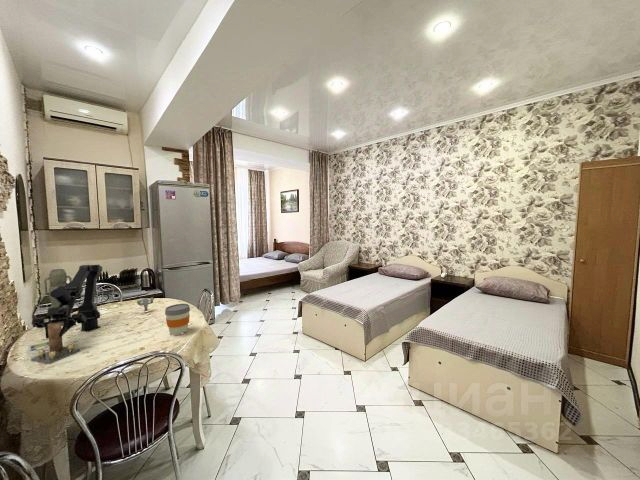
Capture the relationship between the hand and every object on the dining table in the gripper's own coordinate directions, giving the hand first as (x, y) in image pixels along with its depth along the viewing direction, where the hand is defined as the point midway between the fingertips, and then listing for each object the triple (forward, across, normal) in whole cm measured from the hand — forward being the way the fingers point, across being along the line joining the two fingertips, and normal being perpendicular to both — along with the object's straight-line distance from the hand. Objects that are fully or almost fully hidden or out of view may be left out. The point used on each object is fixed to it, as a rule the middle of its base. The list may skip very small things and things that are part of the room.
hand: (53, 337), depth 119 cm
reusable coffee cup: (0, +51, +13) cm, 52 cm away
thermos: (-29, -22, +43) cm, 56 cm away
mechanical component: (-31, +23, +46) cm, 60 cm away
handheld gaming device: (-3, -13, +18) cm, 22 cm away
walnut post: (+4, 0, +6) cm, 7 cm away
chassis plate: (+6, 0, +8) cm, 10 cm away
